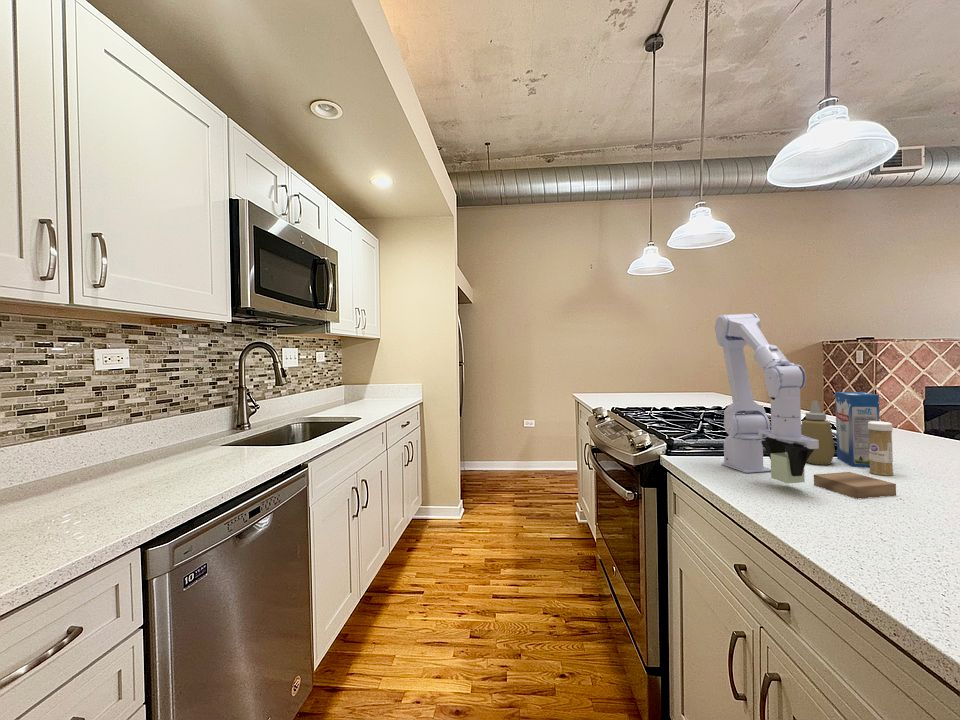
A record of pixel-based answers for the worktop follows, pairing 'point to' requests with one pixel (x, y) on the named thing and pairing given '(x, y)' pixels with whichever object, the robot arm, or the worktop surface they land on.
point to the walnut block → (855, 485)
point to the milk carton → (855, 426)
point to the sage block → (783, 469)
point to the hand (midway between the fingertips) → (787, 472)
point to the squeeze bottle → (819, 435)
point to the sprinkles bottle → (880, 448)
